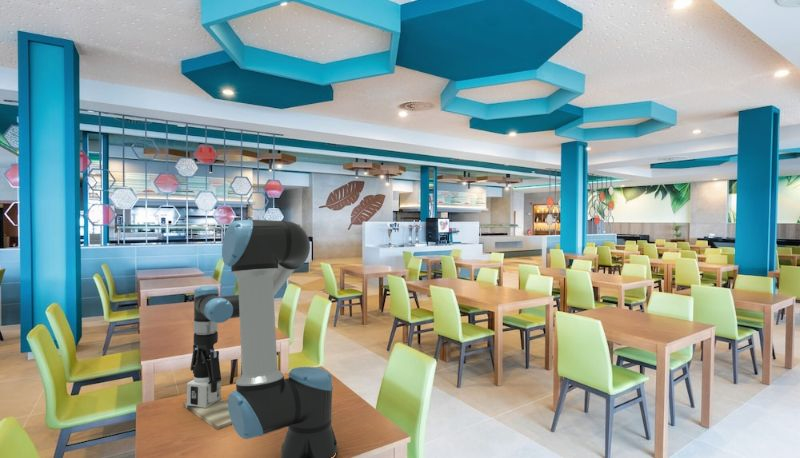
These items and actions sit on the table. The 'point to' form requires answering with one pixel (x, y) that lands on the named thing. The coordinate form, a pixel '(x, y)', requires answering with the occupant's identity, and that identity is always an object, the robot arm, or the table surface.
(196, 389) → the container
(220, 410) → the metal panel
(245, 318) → the robot arm
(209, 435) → the table surface
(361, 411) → the table surface
